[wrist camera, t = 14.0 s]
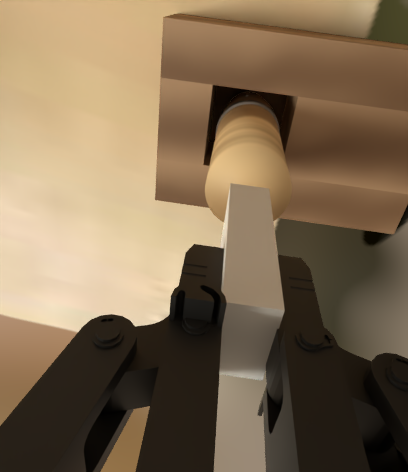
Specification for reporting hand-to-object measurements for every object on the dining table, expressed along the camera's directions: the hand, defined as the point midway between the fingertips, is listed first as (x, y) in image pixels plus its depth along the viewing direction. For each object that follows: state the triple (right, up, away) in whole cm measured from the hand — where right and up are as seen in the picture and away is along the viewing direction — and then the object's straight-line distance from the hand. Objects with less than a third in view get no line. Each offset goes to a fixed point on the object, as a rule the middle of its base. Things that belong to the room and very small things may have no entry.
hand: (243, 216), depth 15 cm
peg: (+2, +9, +14) cm, 17 cm away
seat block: (+5, +8, +14) cm, 17 cm away
